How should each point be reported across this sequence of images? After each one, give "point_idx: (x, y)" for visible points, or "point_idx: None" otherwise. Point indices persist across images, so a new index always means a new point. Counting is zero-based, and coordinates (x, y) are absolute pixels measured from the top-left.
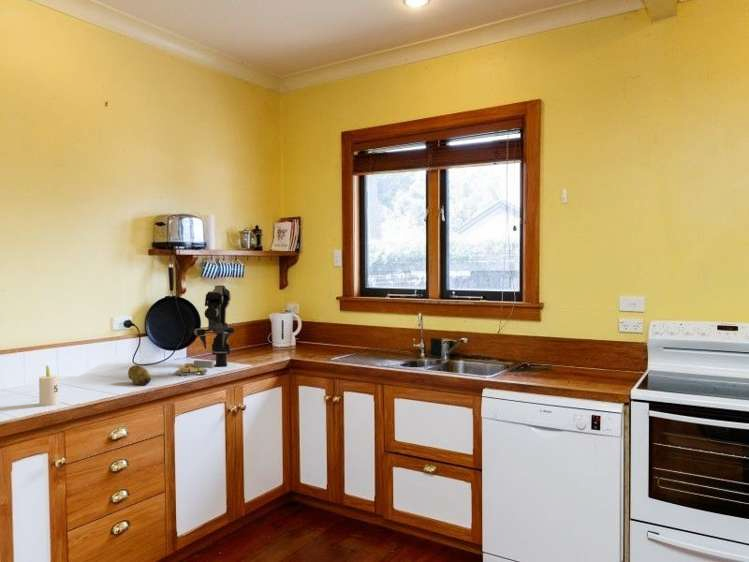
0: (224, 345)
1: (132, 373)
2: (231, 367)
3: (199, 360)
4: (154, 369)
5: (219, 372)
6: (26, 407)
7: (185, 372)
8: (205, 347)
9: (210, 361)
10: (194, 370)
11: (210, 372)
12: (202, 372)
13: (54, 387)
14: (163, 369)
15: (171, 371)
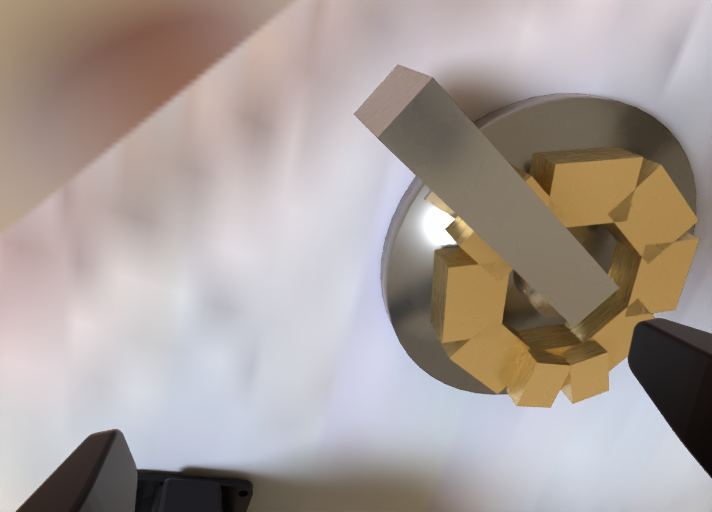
0: (64, 472)
1: None
2: (75, 418)
3: (546, 290)
4: (675, 473)
5: (250, 181)
6: None
7: None
8: (689, 331)
9: (440, 128)
10: (576, 154)
11: (350, 222)
12: None
13: None
14: (633, 462)
15: (627, 382)
